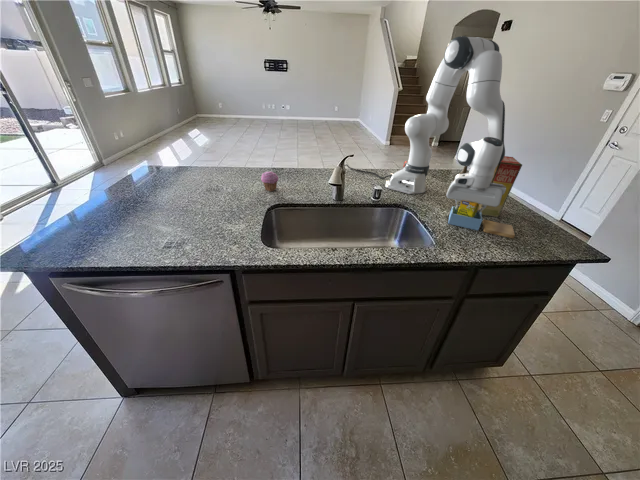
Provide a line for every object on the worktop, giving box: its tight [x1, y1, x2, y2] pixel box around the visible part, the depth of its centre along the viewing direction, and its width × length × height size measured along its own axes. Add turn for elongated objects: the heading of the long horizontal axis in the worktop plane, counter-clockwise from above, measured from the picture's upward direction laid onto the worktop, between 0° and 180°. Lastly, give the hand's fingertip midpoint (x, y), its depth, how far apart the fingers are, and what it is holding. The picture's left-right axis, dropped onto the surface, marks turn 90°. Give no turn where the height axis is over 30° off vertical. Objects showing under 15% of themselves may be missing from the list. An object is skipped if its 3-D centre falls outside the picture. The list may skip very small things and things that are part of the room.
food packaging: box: [478, 155, 523, 218], centre depth 124 cm, size 13×9×25 cm
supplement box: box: [457, 200, 479, 218], centre depth 116 cm, size 6×6×11 cm
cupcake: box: [261, 171, 279, 192], centre depth 141 cm, size 9×9×10 cm
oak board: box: [482, 219, 516, 239], centre depth 114 cm, size 11×10×2 cm
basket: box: [447, 205, 483, 231], centre depth 118 cm, size 12×9×5 cm
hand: (467, 211), depth 116 cm, fingers closed on supplement box, 7 cm apart
